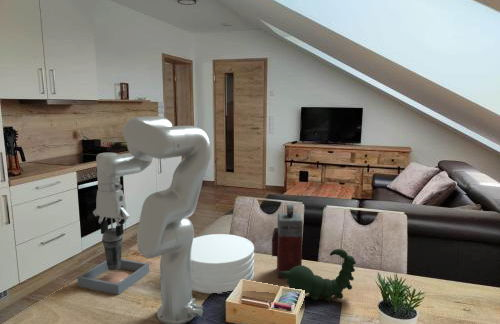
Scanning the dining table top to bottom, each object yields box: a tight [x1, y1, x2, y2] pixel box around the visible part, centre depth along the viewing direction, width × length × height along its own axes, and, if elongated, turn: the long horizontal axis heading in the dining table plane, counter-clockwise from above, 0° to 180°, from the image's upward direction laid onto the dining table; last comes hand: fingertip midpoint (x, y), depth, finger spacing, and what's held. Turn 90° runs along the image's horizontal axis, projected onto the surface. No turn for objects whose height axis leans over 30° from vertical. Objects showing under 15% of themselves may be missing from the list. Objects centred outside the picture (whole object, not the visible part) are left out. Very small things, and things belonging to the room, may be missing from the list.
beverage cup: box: [101, 218, 124, 272], centre depth 134 cm, size 7×7×20 cm
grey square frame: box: [77, 258, 150, 295], centre depth 136 cm, size 18×18×4 cm
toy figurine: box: [279, 248, 357, 303], centre depth 123 cm, size 9×19×25 cm
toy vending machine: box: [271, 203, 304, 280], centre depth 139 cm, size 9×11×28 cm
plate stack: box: [191, 233, 255, 294], centre depth 139 cm, size 28×28×12 cm
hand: (112, 233), depth 134 cm, fingers closed on beverage cup, 6 cm apart
